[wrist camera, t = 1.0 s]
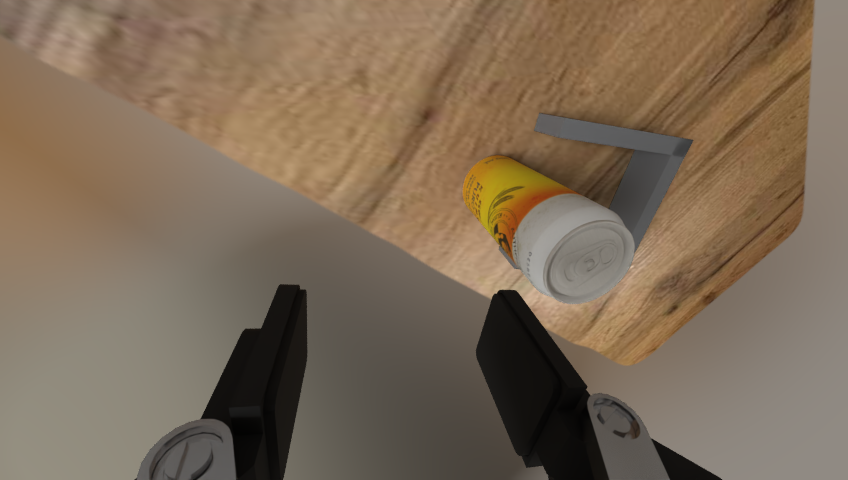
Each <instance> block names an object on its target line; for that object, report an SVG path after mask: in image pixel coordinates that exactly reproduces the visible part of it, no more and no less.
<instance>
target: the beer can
mask: <svg viewBox="0 0 848 480" xmlns="http://www.w3.org/2000/svg"><path fill="white" fill-rule="evenodd" d="M463 198H464V201H465V204H466V205H467V207H468V208H469V209H470V211H471V212H472V213H473V214H474V215H475V217H476V218H477V219H478V220H479V221H480V223H481V224H482V225H483V226H484V227H485V229H486V230H487V231H488V232H489V233H490V234H491V236H492V237H493V238H494V239H495V240H496V242H497V243H498V244H499V245H500V246H501V248H502V249H503V250H504V251H505V252H506V254H507V255H508V256H509V257H510V258H511V259H512V261H513V262H514V263H515V264H516V265H517V267H518V268H519V269H520V270H521V271H522V273H523V274H524V275H525V276H526V277H527V279H528V280H529V281H530V282H531V283H532V284H533V286H534V287H535V288H536V289H537V290H538V291H539V292H541V293H542V294H544V295H547V296H550V297H553V298H555V299H556V300H558V301H560V302H563V303H567V304H580V303H585V302H589V301H592V300H594V299H597V298H599V297H600V296H602V295H604V294H606V293H607V292H608V291H610V290H611V289H612V288H613V287H615V286H616V285H617V284H618V283H619V282H620V280H621V279H622V278H623V277H624V276H625V274H626V273H627V271H628V269H629V268H630V266H631V263H632V261H633V257H634V253H635V243H634V239H633V236H632V234H631V233H630V231H629V230H628V229H627V228H626V227H625V225H624V223H623V221H622V220H621V218H620V217H619V216H618V215H617V214H616V213H615V212H613V211H611V210H610V209H608V208H606V207H604V206H602V205H600V204H598V203H596V202H594V201H592V200H590V199H588V198H586V197H584V196H582V195H580V194H579V193H577V192H575V191H573V190H571V189H569V188H567V187H565V186H563V185H561V184H559V183H557V182H555V181H553V180H551V179H550V178H548V177H546V176H544V175H542V174H540V173H538V172H536V171H534V170H532V169H530V168H528V167H526V166H524V165H522V164H521V163H519V162H517V161H515V160H513V159H511V158H509V157H506V156H502V155H494V156H490V157H487V158H484V159H482V160H481V161H479V162H478V163H476V164H475V165H474V166H473V167H472V168H471V170H470V171H469V172H468V174H467V176H466V178H465V181H464V184H463Z"/></svg>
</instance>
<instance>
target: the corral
mask: <svg viewBox="0 0 848 480" xmlns="http://www.w3.org/2000/svg"><path fill="white" fill-rule="evenodd" d="M534 131H537V132H541V133H544V134H548V135H551V136H555V137H558V138H565V139H571V140H578V141H584V142H590V143H597V144H603V145H610V146H616V147H622V148H629V149H635V151H634V153H633V156H632V158H631V160H630V162H629V164H628V167H627V169H626V171H625V173H624V176H623V178H622V180H621V182H620V185H619V187H618V189H617V191H616V194H615V196H614V198H613V200H612V203H611V205H610V207H609V209H610V210H611V211H613V212H615V213H616V214H617V215H618V216H619V217H620V218H621V220H622V221H623V223H624V225H625V227H626V228H627V229H628V230H629V231H630V233H631V234H632V236H633V239H634V243H635V252H636V250H637V248H638V246H639V244H640V242H641V240H642V238H643V236H644V234H645V232H646V230H647V228H648V227H649V225H650V223H651V221H652V219H653V217H654V215H655V213H656V211H657V209H658V207H659V205H660V203H661V202H662V200H663V198H664V196H665V194H666V192H667V190H668V188H669V186H670V184H671V182H672V180H673V178H674V177H675V175H676V173H677V171H678V169H679V167H680V165H681V163H682V161H683V159H684V157H685V155H686V153H687V152H688V150H689V148H690V146H691V144H692V142H693V140H690V139H684V138H679V137H673V136H667V135H662V134H656V133H650V132H645V131H639V130H633V129H627V128H622V127H616V126H610V125H604V124H599V123H593V122H587V121H581V120H576V119H570V118H564V117H558V116H553V115H547V114H541V113H539V116H538V119H537V123H536V126H535V129H534ZM499 250H500V251H501V253H502V254H503V255H504V256H505V258H506V259H507V260H508V261H509V263H510V264H511V265H512V266H513V267H514V269H519V268H518V267H517V265H516V264H515V263H514V262H513V261H512V259H511V258H510V257H509V256H508V255H507V254H506V252H505V251H504V250H503V249H502V248H501V246H500V247H499Z"/></svg>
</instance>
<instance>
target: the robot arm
mask: <svg viewBox="0 0 848 480" xmlns="http://www.w3.org/2000/svg"><path fill="white" fill-rule="evenodd" d="M306 297H307V294H306V290H300V286H299V285H284V284H283V285H282V284H280V285H279V286H278V289H277V291H276V294H275V296H274V299H273V301H272V303H271V306H270V308H269V311H268V313H267V316H266V318H265V320H264V323H263V326H262V328H261V329H245V330H244V331H243V332H242V334H241V336H240V338H239V340H238V342H237V344H236V346H235V348H234V350H233V352H232V355H231V357H230V359H229V361H228V363H227V365H226V367H225V369H224V371H223V373H222V375H221V377H220V380H219V382H218V384H217V386H216V388H215V390H214V392H213V394H212V396H211V398H210V400H209V403H208V405H207V407H206V409H205V411H204V413H203V415H202V417H201V419H200V420H195V421H191V422H188V423H186V424H184V425H182V426H179V427H177V428H175V429H174V430H172V431H171V432H169V433H168V434H166V435H165V436H164V437H162V438H161V439H160V440H159V441H158V442H157V443H156V444H155V445H154V446H153V447H152V448H151V449H150V451H149V452H148V454H147V455H146V457H145V458H144V460H143V461H142V463H141V466H140V469H139V472H138V475H137V478H136V479H135V480H283V478H284V473H285V468H286V463H287V458H288V453H289V448H290V442H291V438H292V433H293V427H294V423H295V418H296V412H297V408H298V403H299V398H300V393H301V387H302V383H303V377H304V373H305V367H306V362H307V298H306ZM476 356H477V360H478V362H479V365H480V367H481V370H482V372H483V374H484V377H485V379H486V382H487V384H488V387H489V389H490V392H491V394H492V396H493V399H494V401H495V404H496V406H497V408H498V411H499V413H500V415H501V418H502V420H503V423H504V425H505V428H506V430H507V433H508V435H509V437H510V440H511V442H512V444H513V447H514V449H515V451H516V453H517V454H518V455H519V456H522V458H523V461H524V463H525V465H526V468H527V467H536V466H543V467H544V469H545V471H546V473H547V474H548V480H722V479H721V478H719V477H718V476H716V475H714V474H712V473H711V472H709V471H707V470H705V469H703V468H702V467H700V466H698V465H697V464H695V463H693V462H692V461H690V460H688V459H686V458H685V457H683V456H681V455H679V454H677V453H676V452H674V451H672V450H671V449H669V448H667V447H665V446H663V445H662V444H660V443H658V442H657V441H655V440H653V439H651V438H650V436H649V433H648V431H647V429H646V427H645V425H644V424H643V422H642V420H641V419H640V417H639V416H638V415H637V414H636V413H635V412H634V410H633V409H631V408H630V407H629V406H627V404H625V403H624V402H622V401H621V400H619V399H617V398H615V397H613V396H610V395H608V394H602V393H597V394H593V395H591V396H590V394H589V393H588V392H587V390H586V389H587V385H586V384H585V383H584V381H583V380H582V379H581V377H580V376H579V375H578V373H577V372H576V370H575V369H574V368H573V366H572V365H571V364H570V362H569V361H568V360H567V359H566V357H565V356H564V354H563V353H562V352H561V350H560V349H559V348H558V346H557V345H556V343H555V342H554V341H553V339H552V338H551V337H550V335H549V334H548V332H547V331H546V330H545V328H544V327H543V326H542V324H541V323H540V322H539V320H538V319H537V318H536V316H535V315H534V313H533V312H532V311H531V309H530V308H529V307H528V305H527V304H526V303H525V301H524V300H523V299H522V297H521V296H520V295H519V293H518V292H517V291H515V290H499V291H498V293H497V294H494V295H493V297H492V300H491V304H490V307H489V310H488V314H487V316H486V320H485V323H484V326H483V329H482V332H481V336H480V339H479V342H478V345H477V349H476Z"/></svg>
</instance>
